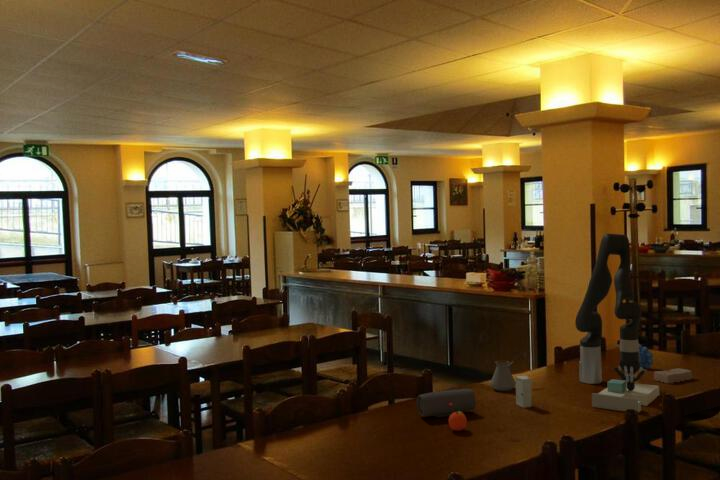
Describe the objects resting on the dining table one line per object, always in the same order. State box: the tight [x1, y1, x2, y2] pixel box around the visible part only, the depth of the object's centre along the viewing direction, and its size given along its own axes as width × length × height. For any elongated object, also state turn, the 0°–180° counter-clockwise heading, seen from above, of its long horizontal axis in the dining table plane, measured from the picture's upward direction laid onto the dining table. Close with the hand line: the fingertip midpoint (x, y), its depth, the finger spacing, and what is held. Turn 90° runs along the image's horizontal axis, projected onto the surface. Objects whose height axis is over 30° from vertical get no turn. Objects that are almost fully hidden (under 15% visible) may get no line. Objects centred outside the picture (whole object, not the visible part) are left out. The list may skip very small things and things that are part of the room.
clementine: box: [448, 411, 468, 432], centre depth 249 cm, size 8×7×7 cm
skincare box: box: [515, 375, 532, 409], centre depth 277 cm, size 6×4×12 cm
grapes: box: [639, 343, 655, 369], centre depth 333 cm, size 12×7×12 cm, turn 36°
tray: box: [591, 382, 660, 414], centre depth 277 cm, size 18×31×6 cm, turn 141°
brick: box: [653, 367, 693, 384], centre depth 308 cm, size 17×8×5 cm, turn 115°
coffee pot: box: [490, 351, 527, 392], centre depth 307 cm, size 21×12×15 cm, turn 125°
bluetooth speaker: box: [416, 388, 477, 418], centre depth 268 cm, size 23×9×10 cm, turn 105°
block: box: [606, 379, 626, 393], centre depth 279 cm, size 6×6×4 cm
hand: (630, 390), depth 277 cm, fingers closed
